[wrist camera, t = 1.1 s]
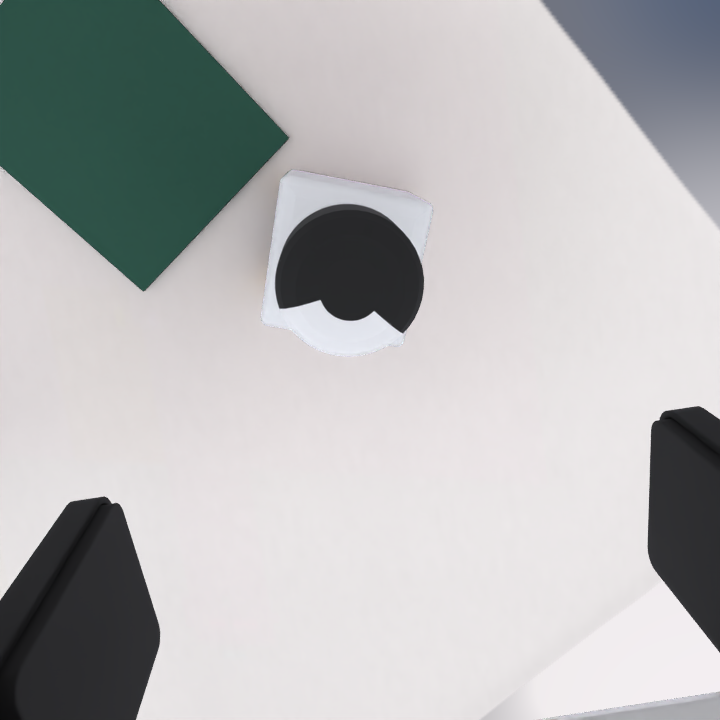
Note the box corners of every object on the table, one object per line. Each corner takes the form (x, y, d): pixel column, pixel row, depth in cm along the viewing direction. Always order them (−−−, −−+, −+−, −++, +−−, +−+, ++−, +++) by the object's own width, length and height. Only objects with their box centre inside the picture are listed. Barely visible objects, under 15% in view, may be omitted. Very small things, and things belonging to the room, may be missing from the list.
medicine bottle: (288, 167, 34) (272, 179, 22) (413, 192, 34) (459, 215, 23) (269, 292, 36) (248, 360, 25) (387, 312, 37) (419, 387, 25)
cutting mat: (-70, 100, 31) (-75, 100, 31) (77, -87, 29) (74, -90, 29) (145, 290, 35) (143, 291, 35) (289, 138, 33) (288, 138, 33)
